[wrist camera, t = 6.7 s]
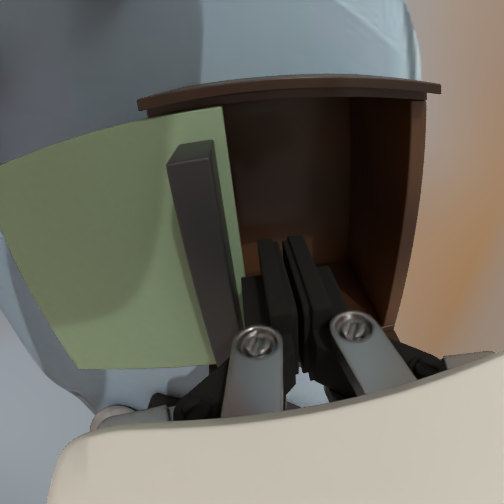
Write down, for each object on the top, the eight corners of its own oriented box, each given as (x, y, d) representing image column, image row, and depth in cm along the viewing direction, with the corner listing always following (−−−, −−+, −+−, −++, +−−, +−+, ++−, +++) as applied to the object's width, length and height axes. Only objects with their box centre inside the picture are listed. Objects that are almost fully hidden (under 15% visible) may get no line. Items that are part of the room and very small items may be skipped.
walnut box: (177, 88, 16) (136, 99, 9) (355, 74, 16) (441, 84, 9) (212, 279, 23) (210, 377, 16) (352, 261, 23) (399, 346, 16)
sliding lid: (-12, 170, 10) (-54, 198, 7) (222, 104, 10) (220, 114, 7) (80, 361, 16) (68, 401, 14) (256, 351, 16) (262, 398, 14)
